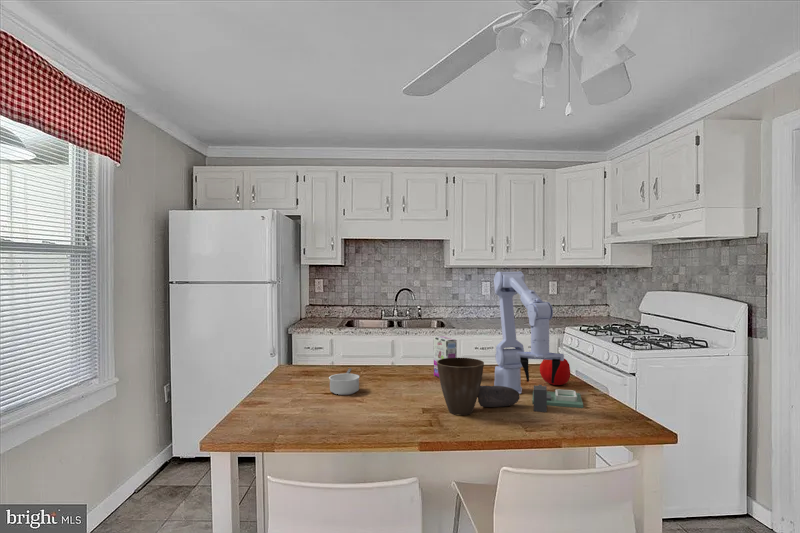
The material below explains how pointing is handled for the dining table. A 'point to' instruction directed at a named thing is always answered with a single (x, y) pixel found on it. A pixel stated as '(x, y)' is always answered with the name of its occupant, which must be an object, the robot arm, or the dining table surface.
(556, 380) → the tomato
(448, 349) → the candy bar box
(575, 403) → the board
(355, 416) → the dining table surface
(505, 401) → the perforated stone tool
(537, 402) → the plug
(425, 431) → the dining table surface
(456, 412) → the plant pot
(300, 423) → the dining table surface
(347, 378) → the saucepan
